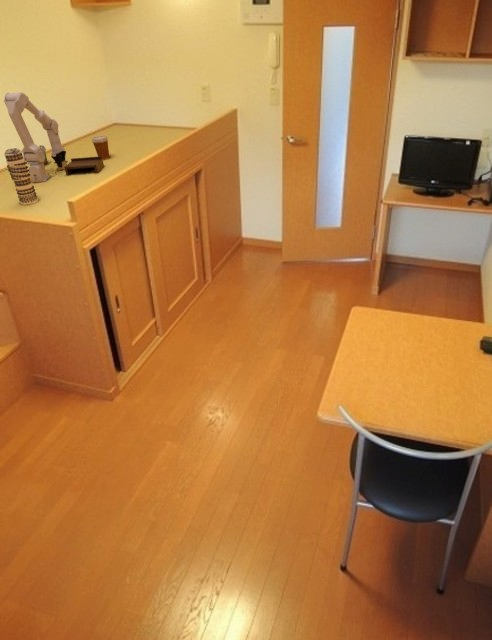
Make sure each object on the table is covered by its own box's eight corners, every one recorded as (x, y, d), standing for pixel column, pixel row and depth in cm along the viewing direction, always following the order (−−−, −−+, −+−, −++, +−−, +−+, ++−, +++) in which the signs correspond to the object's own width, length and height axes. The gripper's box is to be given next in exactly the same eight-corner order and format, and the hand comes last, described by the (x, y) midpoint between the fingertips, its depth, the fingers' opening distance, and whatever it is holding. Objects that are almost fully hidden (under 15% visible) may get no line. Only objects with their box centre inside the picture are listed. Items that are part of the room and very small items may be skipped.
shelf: (97, 173, 270) (95, 162, 267) (66, 175, 272) (63, 165, 268) (104, 166, 281) (101, 156, 278) (74, 168, 282) (71, 158, 279)
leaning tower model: (41, 197, 243) (25, 146, 229) (35, 203, 235) (18, 151, 221) (23, 199, 243) (5, 147, 229) (17, 205, 235) (-2, 153, 221)
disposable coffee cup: (93, 159, 295) (87, 139, 288) (103, 155, 302) (98, 135, 295) (104, 160, 291) (100, 140, 284) (115, 156, 298) (110, 136, 291)
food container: (43, 167, 289) (37, 150, 283) (34, 167, 290) (28, 150, 285) (53, 161, 299) (48, 144, 293) (45, 161, 300) (39, 145, 295)
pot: (67, 169, 281) (65, 159, 278) (54, 170, 282) (52, 160, 279) (70, 166, 285) (68, 157, 282) (57, 167, 286) (55, 158, 283)
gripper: (57, 144, 269) (64, 169, 276) (66, 138, 281) (72, 161, 288) (45, 145, 269) (52, 169, 277) (54, 138, 281) (61, 162, 289)
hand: (62, 165), depth 283 cm, fingers closed on pot, 5 cm apart
